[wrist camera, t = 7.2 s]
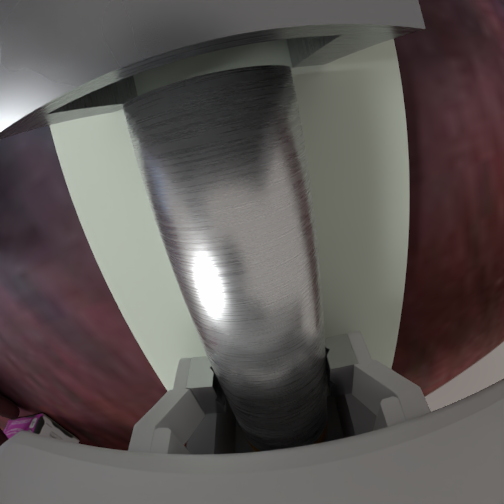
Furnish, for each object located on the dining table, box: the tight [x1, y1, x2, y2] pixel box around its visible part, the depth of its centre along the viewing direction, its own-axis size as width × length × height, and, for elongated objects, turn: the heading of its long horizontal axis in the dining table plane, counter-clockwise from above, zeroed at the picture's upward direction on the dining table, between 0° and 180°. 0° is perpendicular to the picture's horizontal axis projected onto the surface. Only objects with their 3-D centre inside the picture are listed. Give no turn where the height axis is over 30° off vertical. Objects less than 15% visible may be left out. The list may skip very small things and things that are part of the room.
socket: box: [186, 393, 377, 454], centre depth 12 cm, size 4×8×6 cm, turn 101°
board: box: [50, 39, 410, 396], centre depth 11 cm, size 24×12×1 cm, turn 11°
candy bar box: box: [3, 413, 79, 443], centre depth 14 cm, size 11×5×16 cm, turn 121°
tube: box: [122, 65, 327, 452], centre depth 10 cm, size 15×4×4 cm, turn 11°
